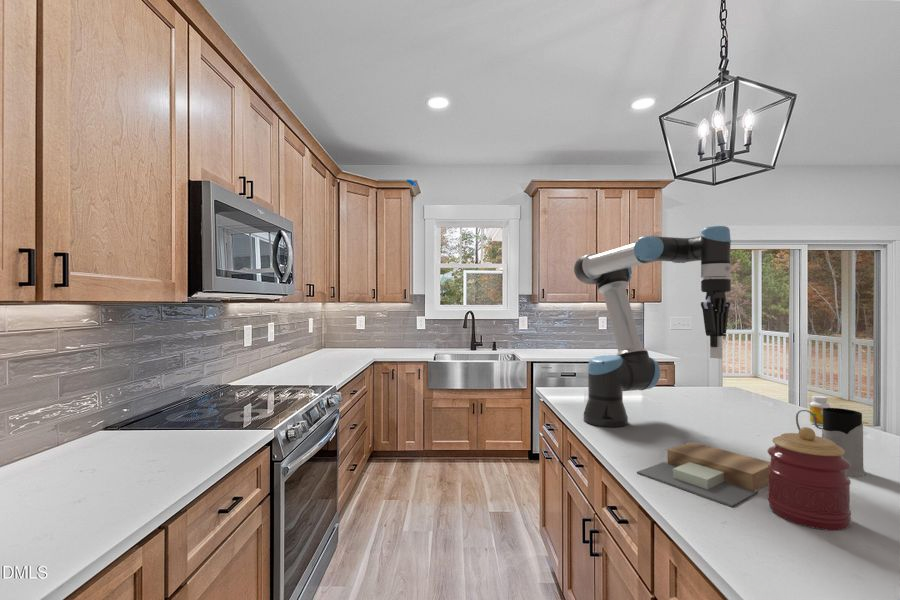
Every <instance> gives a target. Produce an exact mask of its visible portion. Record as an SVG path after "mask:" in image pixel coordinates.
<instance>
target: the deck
mask: <svg viewBox="0 0 900 600" xmlns="http://www.w3.org/2000/svg"><path fill="white" fill-rule="evenodd" d="M666 458H667V463H668V464H672V465H675V466H681V465H683V464H686V463H689V462H692V463H695V464H699V465H702V466H706V467H709V468H712V469H716V470H719V471H722V472H724V481H726V482H729V483H732V484H735V485H738V486H741V487H745V488H748V489H751V490H754V491H757V490H759V489H762V488H763V487H765V486H766V484H767V485H769V484H768V483H769V469H768V464H769V463H770V462H771V461H767V460H764V459H760V458H755V457H752V456H748V455H744V454H740V453H736V452H733V451H729V450H725V449H723V448H722V449H720V448H717V447H713V446H710V445H705V444H702V443H697V442H694V441H689V442H686V443H683V444H679V445H678V446H675V447H674V446H673V447H670V448H668V449H667V457H666Z"/></svg>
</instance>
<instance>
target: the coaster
mask: <svg viewBox="0 0 900 600" xmlns="http://www.w3.org/2000/svg"><path fill="white" fill-rule="evenodd" d="M673 478H675V479H678V480H681V481H684V482H687V483H690V484H693V485H696V486H699V487H702V488H705V489H709V488H711V487H713V486H716V485H718V484H720V483H722V482H724V472H722V471H719V470H716V469H712V468H709V467H706V466H702V465H699V464H695V463H692V462H689V463H686V464H683V465H681V466H678V467H676V468H673Z"/></svg>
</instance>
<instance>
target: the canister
mask: <svg viewBox="0 0 900 600" xmlns="http://www.w3.org/2000/svg"><path fill="white" fill-rule="evenodd" d="M772 443H773V444H774V445H773V446H770V447H768V448H767V453H768V454H769V456H770V461H769V462H770V463H769V464H768V469H769V484H768V493H767V501H768V504H769V505H768V506H769V508H770V510H771V511H772V512H773V513H775V515H778V517H780V518H784V519H785V520H787V521H789V520H790V522H792V523H795V524H797V525H801V526H804V525H805V526H804V527H808V526H809V527H810V528H812V527H813V529H818V528H819V529H818V530H825V529H827V530H828V531H841V529H842V530H845V529H847V528H849V527H850V524H851V523H850V522H851V520H852V511H851V505H850V504H851V503H850V502H851V501H850V500H851V499H850V498H851V496H850V495H851V494H850V489H851V488H850V487H851V479H850V478H849V476H847V469H848V468H850V466H851V464H850V462H849V461H848V460H846V459H845V458H843V457H842V455H843V454H844V453H845V451H844V449H843V448H841V447H840V446H838V445H836V444H835V443H834V442H833V441H831V440H829V439H826V438H822V436H819V435H816V432H815V431H814V429H812V428H810V427H807V426H804V427H800V430H798V433H796V432H785V433H782V434H780V435H779V436H776V437H772ZM809 527H808V528H809ZM827 530H826V531H827Z"/></svg>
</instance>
